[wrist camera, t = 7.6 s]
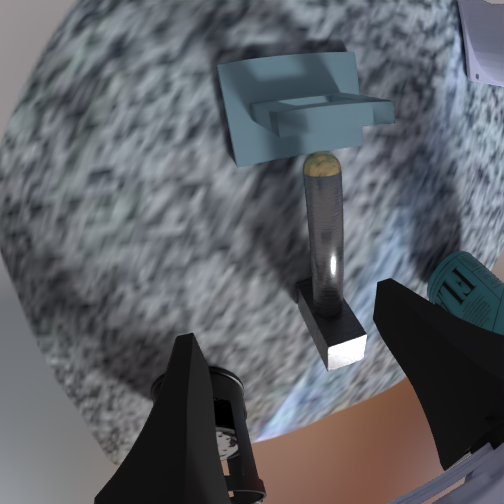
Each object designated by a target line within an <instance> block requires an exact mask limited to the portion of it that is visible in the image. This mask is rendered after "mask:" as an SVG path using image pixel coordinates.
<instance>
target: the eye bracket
mask: <svg viewBox="0 0 504 504" xmlns="http://www.w3.org/2000/svg"><path fill="white" fill-rule="evenodd" d="M216 68H217V73H218V78H219V83H220V88H221V93H222V98H223V103H224V108H225V113H226V118H227V123H228V128H229V133H230V138H231V143H232V148H233V154H234V159H235V164H236V166H237V167H243V166H247V165H252V164H257V163H262V162H266V161H271V160H276V159H282V158H287V157H292V156H298V155H303V154H309V153H313V152H316V151H327V150H333V149H340V148H347V147H354V146H361V145H363V132H362V126H367V125H377V124H389V123H395V105H394V101H390V100H385V99H379V98H374V97H368V96H362V95H360V94H359V85H358V76H357V67H356V60H355V52H324V53H305V54H291V55H281V56H271V57H263V58H255V59H248V60H242V61H235V62H229V63H224V64H218V65H216Z"/></svg>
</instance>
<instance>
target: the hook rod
mask: <svg viewBox="0 0 504 504" xmlns="http://www.w3.org/2000/svg"><path fill="white" fill-rule="evenodd" d="M303 177H304V187H305V197H306V207H307V218H308V230H309V242H310V256H311V270H312V279H309V280H306V281H302V282H298V283H296V288H297V298H298V308H299V310H300V312H301V314H302V317H303V319H304V321H305V323H306V325H307V327H308V330H309V332H310V334H311V336H312V338H313V340H314V343H315V345H316V347H317V349H318V351H319V353H320V356H321V358H322V360H323V362H324V364H325V367H326V369H327V371H331V370H333V369H336V368H339V367H342V366H345V365H348V364H351V363H354V362H356V361H359V360H362V359H363V356H364V350H365V344H366V338H367V334H366V332H365V331H364V329H363V327H362V326H361V324H360V323H359V321H358V319H357V318H356V316H355V315H354V313H353V312H352V310H351V308H350V307H349V305H348V304H347V302H346V301H345V299H344V298H343V273H344V230H343V194H342V173H341V165H340V162H339V160H338V159H337V158H336V157H335V156H334V155H333V154H332V153H330V152H327V151H316V152H313V153H311V154H310V155H309V156H308V157H307V158H306V160H305V161H304V164H303Z"/></svg>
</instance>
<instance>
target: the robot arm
mask: <svg viewBox="0 0 504 504" xmlns="http://www.w3.org/2000/svg"><path fill="white" fill-rule="evenodd" d="M457 1H458V6H459V11H460V17H461V23H462V30H463V37H464V45H465V54H466V65H467V76H468V79H469V80H470V81H473V82H479V83H485V84H491V85H497V86H502V87H504V4H490V3H488V2H486V1H484V0H457ZM373 320H374V322H375V324H376V327H377V329H378V331H379V333H380V335H381V337H382V339H383V340H384V342H385V343H386V345H387V347H388V348H389V350H390V351H391V353H392V354H393V356H394V357H395V359H396V360H397V362H398V363H399V365H400V366H401V368H402V370H403V371H404V373H405V374H406V376H407V377H408V379H409V381H410V382H411V384H412V386H413V388H414V390H415V392H416V394H417V396H418V399H419V401H420V403H421V405H422V408H423V410H424V413H425V415H426V417H427V420H428V423H429V425H430V428H431V431H432V434H433V437H434V440H435V444H436V448H437V451H438V455H439V459H440V463H441V466H442V468H443V469H444V471H446V470H448V469H449V468H451V467H452V466H454V465H456V464H457V463H459V462H460V461H461V460H463V459H465V458H466V457H468V456H469V455H470V454H472V455H471V456H469V457H468V458H466V459H465V460H463V461H462V462H460V463H459V464H457V465H456V466H454V467H453V468H451V469H450V470H448V471H446V472H445V473H443V474H441V475H440V476H438V477H436V478H435V479H433V480H431V481H429V482H428V483H426V484H424V485H422V486H420V487H418V488H417V489H415V490H413V491H411V492H409V493H407V494H405V495H403V496H401V497H399V498H397V499H395V500H393V501H390V502H388V503H386V504H420V503H422V502H424V501H426V500H428V499H429V498H431V497H433V496H435V495H436V494H438V493H440V492H441V491H443V490H445V489H446V488H448V487H450V486H451V485H453V484H454V483H456V482H457V481H459V480H460V479H462V478H463V477H465V476H466V475H467V476H466V478H465V482H464V484H462V485H460V486H459V487H457V488H456V489H454V490H452V491H451V492H449V493H447V494H446V495H444V496H443V497H441V498H439V499H438V500H436V501H435V502H433V503H432V504H504V335H501V334H498V333H495V332H492V331H489V330H486V329H484V328H481V327H479V326H476V325H474V324H472V323H469V322H467V321H465V320H463V319H461V318H459V317H457V316H455V315H453V314H451V313H449V312H447V311H445V310H443V309H442V308H440V307H438V306H436V305H435V304H433V303H431V302H430V301H428V300H426V299H425V298H423V297H421V296H420V295H418V294H416V293H415V292H413V291H411V290H410V289H408V288H406V287H405V286H403V285H402V284H400V283H398V282H396V281H395V280H393V279H391V278H389V279H386V280H383V281H380V282H377V290H376V299H375V306H374V314H373ZM94 504H232V503H231V500H230V497H229V493H228V489H227V485H226V481H225V477H224V473H223V469H222V465H221V460H220V455H219V451H218V444H217V436H216V425H215V413H214V400H213V389H212V384H211V378H210V373H209V368H208V364H207V362H206V360H205V358H204V356H203V354H202V351H201V349H200V347H199V345H198V343H197V340H196V338H195V336H194V333H190V334H185V335H181V336H177V337H176V339H175V343H174V347H173V350H172V354H171V357H170V361H169V364H168V367H167V370H166V373H165V376H164V379H163V382H162V385H161V388H160V390H159V393H158V395H157V398H156V400H155V403H154V405H153V408H152V410H151V412H150V415H149V417H148V419H147V421H146V423H145V425H144V427H143V429H142V431H141V433H140V435H139V436H138V438H137V440H136V442H135V443H134V445H133V447H132V449H131V450H130V452H129V453H128V455H127V456H126V458H125V459H124V461H123V462H122V464H121V465H120V467H119V468H118V470H117V471H116V473H115V474H114V475H113V476H112V478H111V479H110V480H109V481H108V483H107V484H106V485H105V486H104V487H103V489H102V490H101V491H100V492H99V493H98V494H97V496H96V497H95V500H94Z"/></svg>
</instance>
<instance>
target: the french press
mask: <svg viewBox="0 0 504 504" xmlns="http://www.w3.org/2000/svg"><path fill="white" fill-rule="evenodd" d="M208 368H209V373H210V378H211V384H212V389H213V398H214V399H221V400H226V401H227V402H226V403H225V404H224V405H222V406H220V407H218V408H216V409H214V413H215V425H216V436H217V444H218V451H219V455H220V460H221V461H222V460H227V463H228V468H229V474H230V476H224V477H225V481H226V485H227V489H228V491H233V494H234V497H230V500H231V503H232V504H259V503H262V502H263V499H264V498H265V497H266V491H265V487H264V483H263V481H262V480H261V479H259V477H258V473H257V469H256V465H255V460H254V456H253V452H252V447H251V443H250V439H249V434H248V430H247V425H246V419H247V411H246V407H245V402H244V398H243V396H244V388H243V384H242V382H241V381H240V380H239V378H238V377H236V376H235V375H234V374H232V373H230V372H228V371H226V370H223V369H220V368H215V367H209V366H208ZM164 376H165V374H163V375H162V376H160V377H159V378H158V379H157V380H156V381H155V382H154V384H153V386H152V389H151V397H152V400H153V405H154V403H155V400H156V398H157V395H158V393H159V390H160V388H161V385H162V382H163V379H164Z"/></svg>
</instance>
